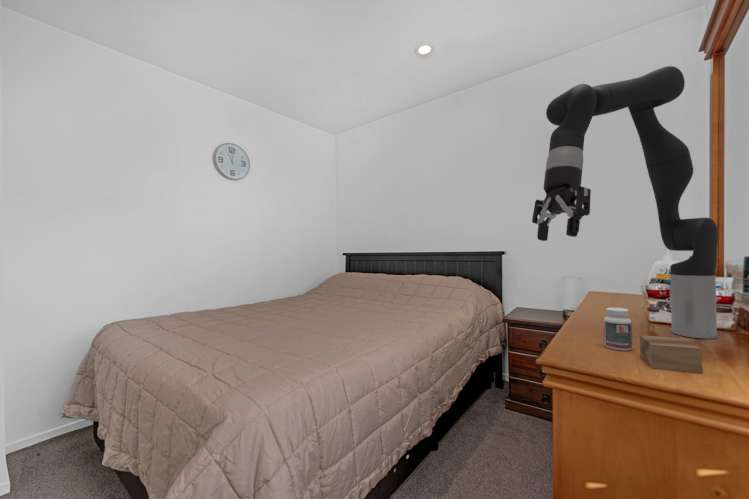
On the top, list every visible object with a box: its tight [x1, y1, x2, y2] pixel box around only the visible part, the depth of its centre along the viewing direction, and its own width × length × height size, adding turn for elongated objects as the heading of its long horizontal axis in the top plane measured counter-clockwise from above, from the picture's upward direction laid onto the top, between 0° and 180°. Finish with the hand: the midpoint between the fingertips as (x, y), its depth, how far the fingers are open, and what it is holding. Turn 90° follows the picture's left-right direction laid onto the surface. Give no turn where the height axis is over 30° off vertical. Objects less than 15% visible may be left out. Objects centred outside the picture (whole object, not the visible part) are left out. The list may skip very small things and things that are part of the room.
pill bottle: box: [603, 307, 633, 352], centre depth 83 cm, size 6×6×10 cm
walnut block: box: [639, 334, 703, 374], centre depth 71 cm, size 8×8×5 cm
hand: (556, 238), depth 74 cm, fingers open, 8 cm apart
